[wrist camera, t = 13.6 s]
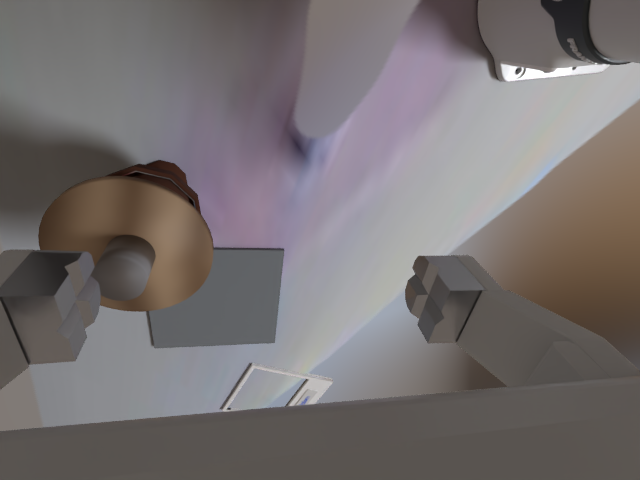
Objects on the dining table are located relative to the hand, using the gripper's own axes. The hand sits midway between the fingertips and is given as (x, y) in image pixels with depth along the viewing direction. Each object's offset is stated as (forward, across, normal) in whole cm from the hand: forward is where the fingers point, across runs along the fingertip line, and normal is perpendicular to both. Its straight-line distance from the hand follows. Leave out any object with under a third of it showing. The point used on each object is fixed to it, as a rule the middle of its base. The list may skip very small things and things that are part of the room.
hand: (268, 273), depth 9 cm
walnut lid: (+22, +10, +14) cm, 28 cm away
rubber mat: (+37, +4, +34) cm, 50 cm away
